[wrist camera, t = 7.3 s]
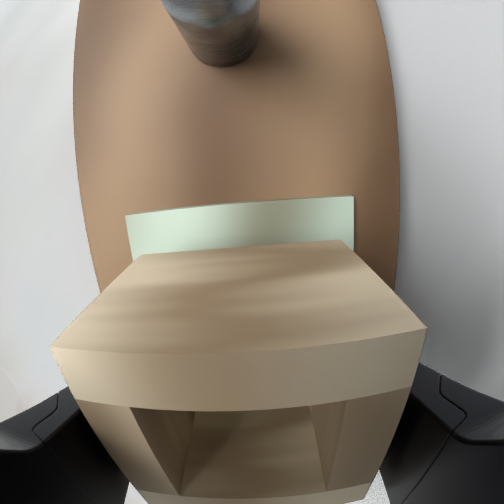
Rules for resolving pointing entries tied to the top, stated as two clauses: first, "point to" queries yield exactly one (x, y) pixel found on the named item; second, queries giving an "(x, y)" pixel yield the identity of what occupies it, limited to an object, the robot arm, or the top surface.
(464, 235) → the top surface
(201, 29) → the post
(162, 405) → the collar
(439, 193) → the top surface
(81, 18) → the board
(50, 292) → the top surface
